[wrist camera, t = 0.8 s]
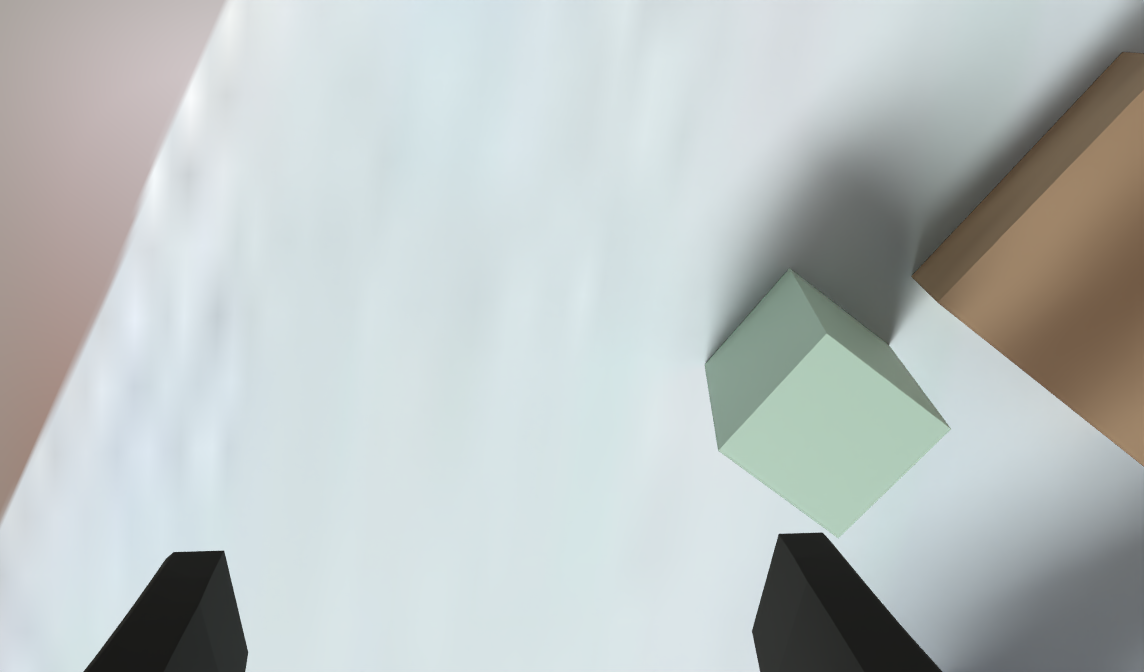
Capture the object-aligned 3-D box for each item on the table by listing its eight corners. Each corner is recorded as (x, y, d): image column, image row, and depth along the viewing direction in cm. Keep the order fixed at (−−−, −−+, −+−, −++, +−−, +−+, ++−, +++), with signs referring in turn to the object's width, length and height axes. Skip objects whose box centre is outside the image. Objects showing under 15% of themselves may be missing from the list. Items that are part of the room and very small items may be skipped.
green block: (888, 345, 27) (950, 429, 22) (801, 436, 28) (838, 538, 23) (789, 267, 27) (827, 333, 21) (704, 364, 28) (718, 450, 22)
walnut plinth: (1314, 226, 25) (1397, 252, 23) (1096, 423, 28) (1146, 468, 25) (1116, 51, 24) (1176, 55, 21) (907, 272, 27) (937, 302, 24)
